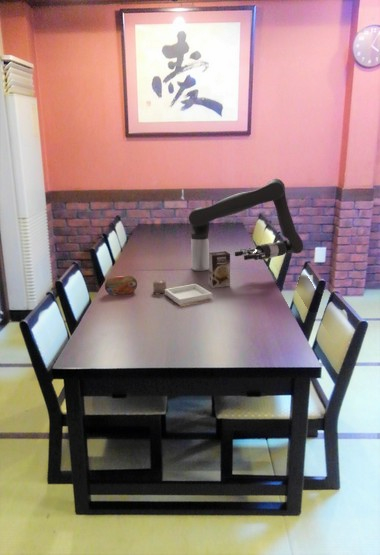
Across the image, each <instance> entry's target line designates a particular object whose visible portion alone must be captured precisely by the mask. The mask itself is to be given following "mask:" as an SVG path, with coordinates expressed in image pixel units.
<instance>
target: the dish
mask: <svg viewBox="0 0 380 555" xmlns="http://www.w3.org/2000/svg"><path fill="white" fill-rule="evenodd" d="M164 295H165V296H166V297H167V298H169V299H171V301H173V302H175V303H176V304H177V305H179V306H180V305H183V304H188V303H193V302H198V301H203V300H208V299H212V300H213V292H211V291H209V290H207V289H205V288H204V287H202V286H200V285H198V284H197V283H192V284H185V285H181V286H180V285H179V286H175V287H170V288H166V289H165V293H164Z"/></svg>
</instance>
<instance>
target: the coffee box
mask: <svg viewBox="0 0 380 555" xmlns="http://www.w3.org/2000/svg"><path fill="white" fill-rule="evenodd" d="M208 284H209V286H210V287H211V288H212V289H213V288H221V287H230V286H231V254H230V253H229V252H228V251H216V252H215V251H213V252H209V269H208Z"/></svg>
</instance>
